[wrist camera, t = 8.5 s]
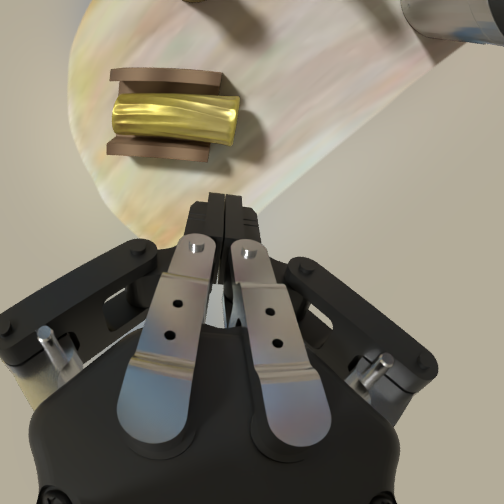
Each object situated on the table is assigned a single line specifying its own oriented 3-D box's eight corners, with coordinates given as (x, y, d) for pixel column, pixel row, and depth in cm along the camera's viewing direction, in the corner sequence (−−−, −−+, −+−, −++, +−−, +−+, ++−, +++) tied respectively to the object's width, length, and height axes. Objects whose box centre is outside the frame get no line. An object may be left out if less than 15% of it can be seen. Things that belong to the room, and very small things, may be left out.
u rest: (222, 72, 30) (221, 73, 27) (209, 151, 37) (207, 162, 33) (123, 67, 28) (110, 69, 24) (118, 144, 34) (106, 154, 31)
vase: (231, 154, 31) (111, 146, 29) (233, 135, 35) (128, 127, 33) (240, 104, 26) (109, 97, 24) (240, 91, 31) (128, 85, 29)
